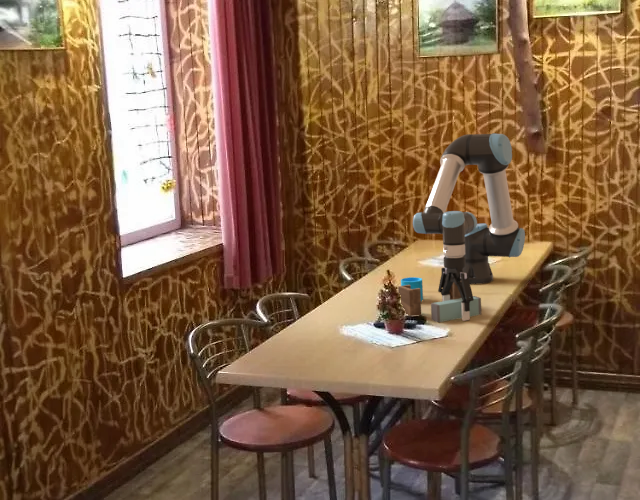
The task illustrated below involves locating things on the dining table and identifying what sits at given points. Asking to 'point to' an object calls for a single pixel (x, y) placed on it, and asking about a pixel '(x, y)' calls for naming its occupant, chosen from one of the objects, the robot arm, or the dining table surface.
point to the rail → (453, 309)
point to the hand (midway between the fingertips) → (456, 316)
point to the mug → (413, 283)
